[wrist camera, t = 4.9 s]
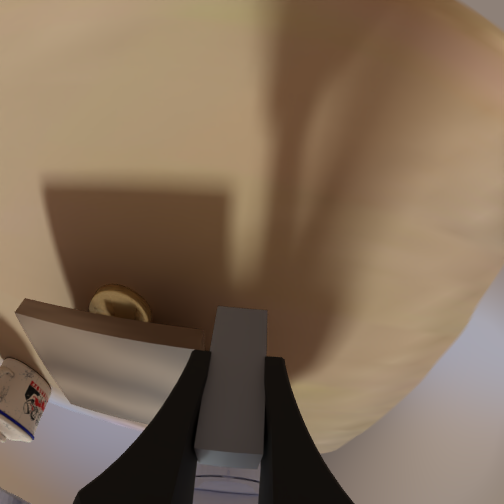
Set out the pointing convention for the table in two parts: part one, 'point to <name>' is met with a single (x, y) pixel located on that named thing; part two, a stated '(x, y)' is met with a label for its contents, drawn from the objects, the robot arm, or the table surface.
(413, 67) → the table surface
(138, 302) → the token
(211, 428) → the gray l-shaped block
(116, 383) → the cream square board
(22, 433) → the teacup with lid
